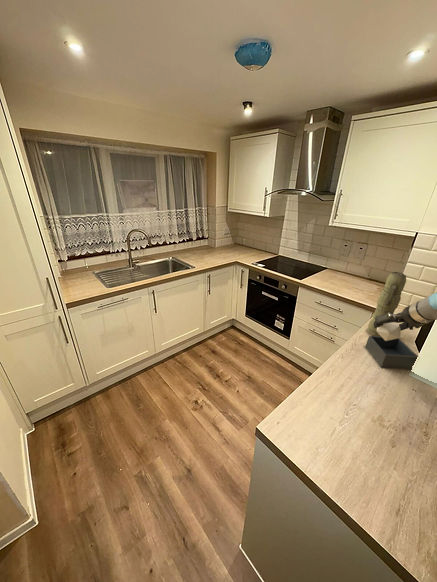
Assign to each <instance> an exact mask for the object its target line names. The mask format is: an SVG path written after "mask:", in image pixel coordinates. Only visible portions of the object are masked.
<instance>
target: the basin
mask: <svg viewBox="0 0 437 582" xmlns="http://www.w3.org/2000/svg"><path fill="white" fill-rule="evenodd" d="M364 348H365V349H366V350H367V352H368V353H369V354H370V355H371V356H372V358H373V359H374V360H375V362H376V363H377V364H378V365H379V367H380V368H389V369H402V370H413V369H412V366H413V365H414V363H415V361H416V359H417V357H419V356H418V355H417V353H415V351H413V350H412V348H411V347H409V346H408V345H407V344H406V343H405V342H404V341H403V340H402V339H401V337H400V338H397V339H393V340H388V341H385V340H384V339H383V338H382V337H379V336H372V335H369V336H368V338H367V341H366V343H365V345H364Z"/></svg>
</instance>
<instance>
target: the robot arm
mask: <svg viewBox="0 0 437 582" xmlns="http://www.w3.org/2000/svg"><path fill="white" fill-rule="evenodd" d="M432 321H437V292H433V294H431V295H428V296H426V297H424V298H423V299H420V300H417V301H416V302H414V303H412V304H409V305H408V306H405V307H404V308H403V310H402V311H400V312H397V313H394V314H393V312H389V313H387V314H384V315H380V316H377V317H375V322H374V328H377V327H379V326H382V325H383V324H386V323H393V322H395V323H397V324H398V325H399V326H400V328H401V332H402V331H405V330H408V329H409V330H410V331H412V330H414V329H420V328H421V327H423V326H425V325H427V324H431V322H432Z"/></svg>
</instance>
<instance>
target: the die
mask: <svg viewBox="0 0 437 582" xmlns="http://www.w3.org/2000/svg"><path fill="white" fill-rule="evenodd" d="M377 332H378V334H379V335H380V336H381V337H382V338H383V339H384V340H385V341H388V340H393V339H397V338H400V339H401V333H402V331H401V328H400V326H399V323H396V322H393V323H386V324H383V325H382V326H379V327H377Z"/></svg>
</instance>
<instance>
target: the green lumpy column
mask: <svg viewBox="0 0 437 582" xmlns="http://www.w3.org/2000/svg"><path fill="white" fill-rule="evenodd" d="M406 284H407V275H406V274H404V273H402V272H398V271H393V272H391V273H390V274H389V275H388V277H387V278H386V281H385V283H384V288H383V289H382V291H381V292H380V293H379V296H378V299H377V301H376V304H377V305H376V307H375V310H374V313H373V315H372V318H371V319H370V320H369V323H368V326H367V330H366V332H367V333H368V334H369V336H379V337H381V336H380V335H379V334H378V332H377V328H374V322H375V317H377V316H380V315H384V314H387V313H389V312H393V314H395V311H396V310H397V308H398V307H399V305H400V302H401V301H402V300H401V299H402V297H401V296H402V292H403V290H404V288H405V286H406Z"/></svg>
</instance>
